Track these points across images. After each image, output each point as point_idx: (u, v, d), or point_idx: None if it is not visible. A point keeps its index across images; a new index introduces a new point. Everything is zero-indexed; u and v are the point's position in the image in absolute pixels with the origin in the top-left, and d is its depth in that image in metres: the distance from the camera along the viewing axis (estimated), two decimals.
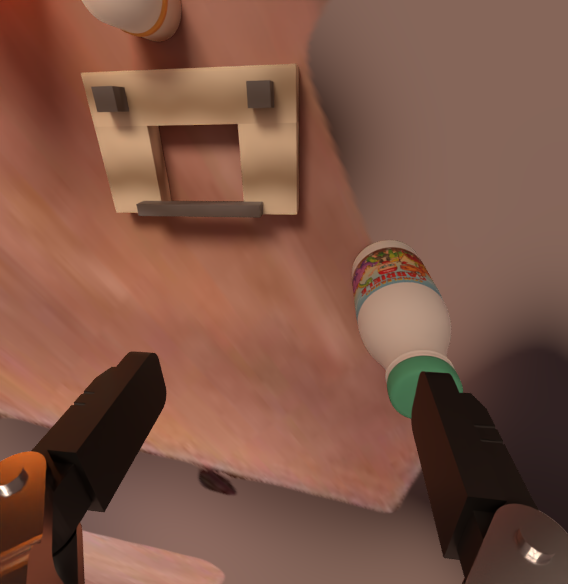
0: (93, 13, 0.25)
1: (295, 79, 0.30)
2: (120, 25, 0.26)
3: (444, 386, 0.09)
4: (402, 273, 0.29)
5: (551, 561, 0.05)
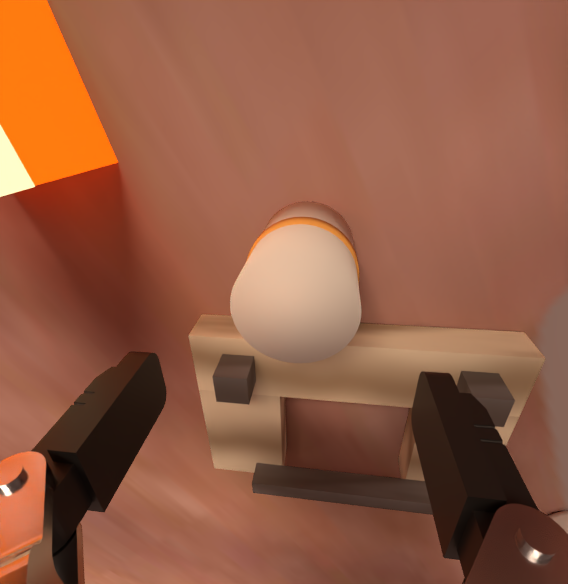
0: (255, 346, 0.15)
1: (536, 373, 0.19)
2: None
3: (444, 386, 0.09)
4: None
5: (551, 561, 0.05)
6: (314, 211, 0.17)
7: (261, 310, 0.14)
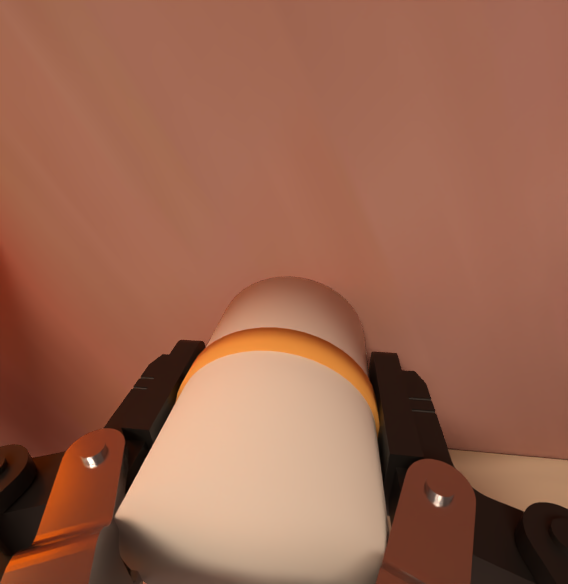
0: None
1: None
2: None
3: (388, 364, 0.09)
4: None
5: (448, 502, 0.06)
6: (299, 305, 0.10)
7: (179, 558, 0.06)
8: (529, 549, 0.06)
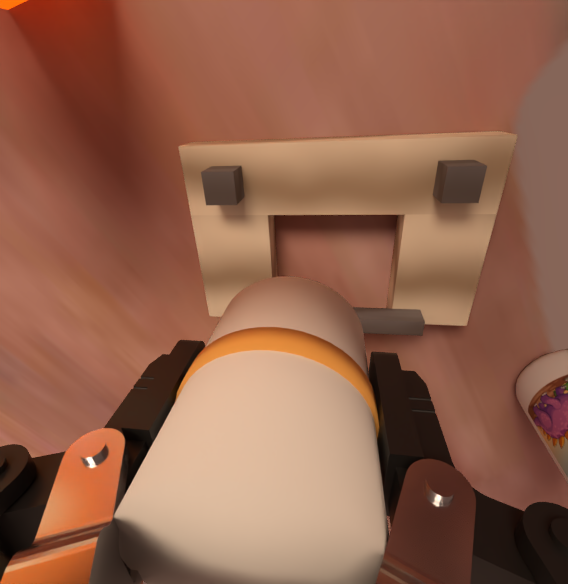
0: None
1: (509, 156, 0.20)
2: None
3: (388, 364, 0.09)
4: None
5: (448, 502, 0.06)
6: (299, 304, 0.10)
7: (179, 557, 0.06)
8: (529, 549, 0.06)
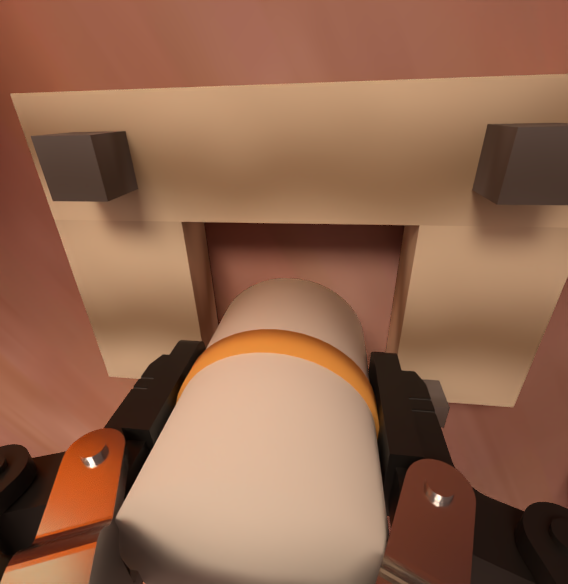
0: None
1: None
2: None
3: (388, 364, 0.09)
4: None
5: (448, 502, 0.06)
6: (299, 306, 0.10)
7: (180, 559, 0.06)
8: (529, 549, 0.06)
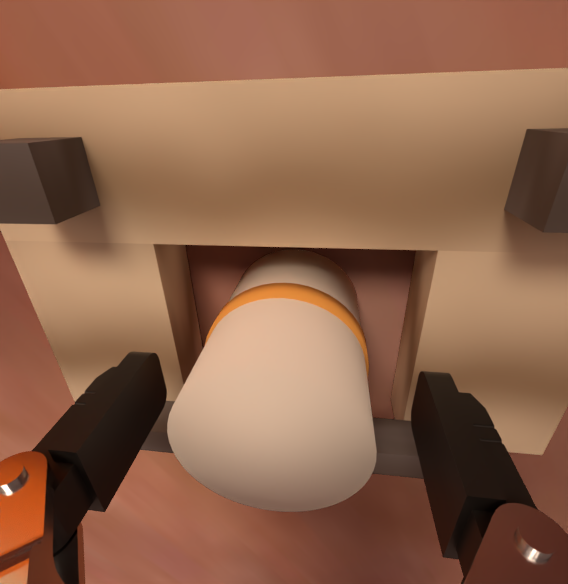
0: (212, 487, 0.09)
1: None
2: None
3: (443, 386, 0.09)
4: None
5: (550, 560, 0.05)
6: (303, 268, 0.12)
7: (217, 444, 0.09)
8: None
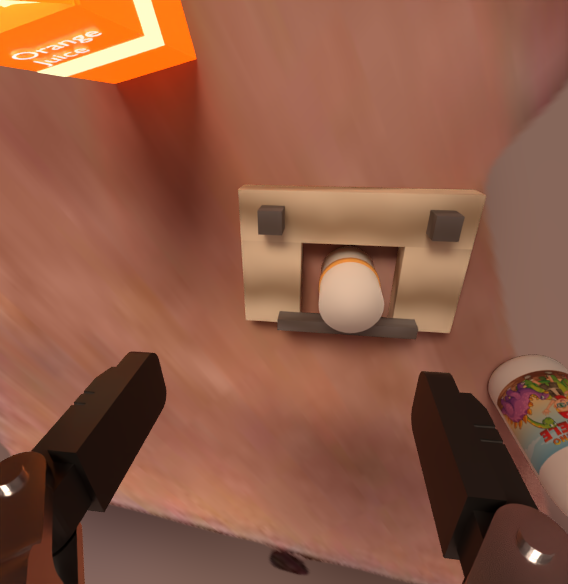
0: (328, 323, 0.29)
1: (481, 209, 0.27)
2: None
3: (444, 386, 0.09)
4: None
5: (551, 561, 0.05)
6: (355, 253, 0.31)
7: (334, 305, 0.28)
8: None
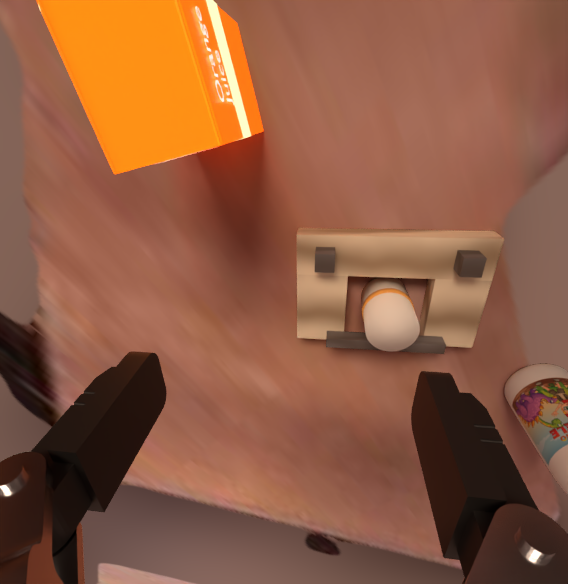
0: (373, 344, 0.35)
1: (499, 249, 0.33)
2: None
3: (444, 386, 0.09)
4: None
5: (551, 561, 0.05)
6: (392, 283, 0.37)
7: (378, 329, 0.34)
8: None
